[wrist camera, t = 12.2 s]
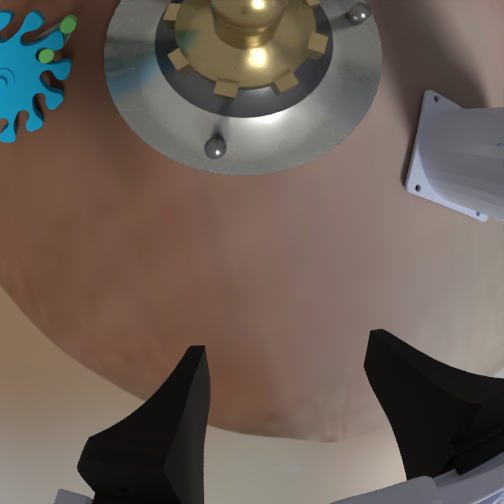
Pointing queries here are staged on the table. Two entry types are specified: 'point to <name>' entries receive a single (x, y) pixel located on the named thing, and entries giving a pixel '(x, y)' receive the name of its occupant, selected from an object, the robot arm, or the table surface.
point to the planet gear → (244, 42)
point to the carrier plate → (242, 93)
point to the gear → (30, 69)
